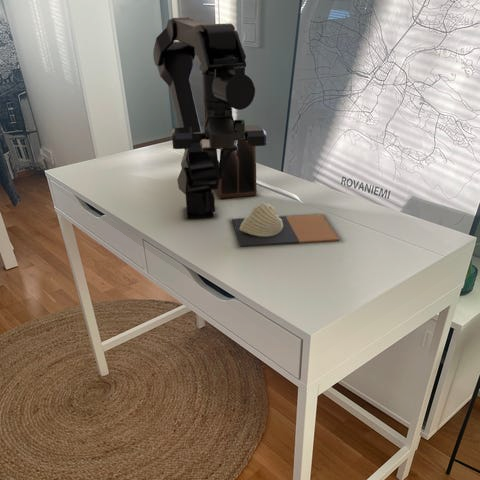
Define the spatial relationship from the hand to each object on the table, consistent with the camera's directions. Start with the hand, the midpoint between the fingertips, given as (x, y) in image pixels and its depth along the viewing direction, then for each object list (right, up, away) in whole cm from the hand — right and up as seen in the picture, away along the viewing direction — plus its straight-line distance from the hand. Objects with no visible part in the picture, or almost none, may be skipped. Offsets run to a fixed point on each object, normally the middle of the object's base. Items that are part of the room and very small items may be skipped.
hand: (219, 178), depth 103 cm
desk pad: (+14, -9, +9) cm, 19 cm away
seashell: (+9, -10, +8) cm, 16 cm away
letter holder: (+2, +8, +34) cm, 35 cm away
